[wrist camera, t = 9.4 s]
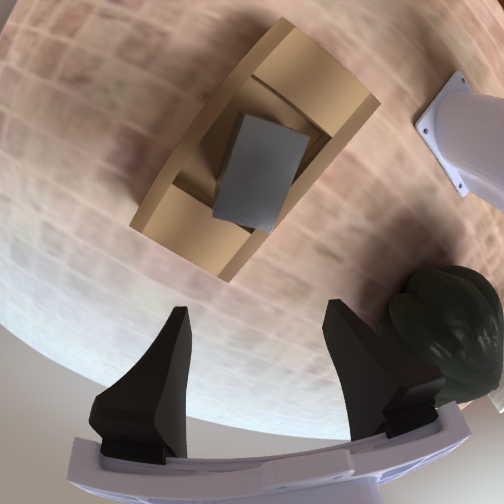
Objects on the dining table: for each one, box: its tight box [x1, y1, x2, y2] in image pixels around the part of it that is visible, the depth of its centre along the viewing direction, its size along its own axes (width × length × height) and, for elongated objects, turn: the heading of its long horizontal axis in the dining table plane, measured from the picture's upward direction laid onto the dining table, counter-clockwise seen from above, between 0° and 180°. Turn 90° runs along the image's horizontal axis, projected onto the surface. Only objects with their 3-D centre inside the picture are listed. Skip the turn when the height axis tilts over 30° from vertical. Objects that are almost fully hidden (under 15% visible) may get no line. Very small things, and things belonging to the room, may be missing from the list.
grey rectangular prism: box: [212, 110, 310, 233], centre depth 15 cm, size 3×5×6 cm, turn 161°
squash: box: [376, 265, 504, 408], centre depth 23 cm, size 14×15×15 cm
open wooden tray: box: [129, 17, 381, 283], centre depth 17 cm, size 8×16×3 cm, turn 143°
